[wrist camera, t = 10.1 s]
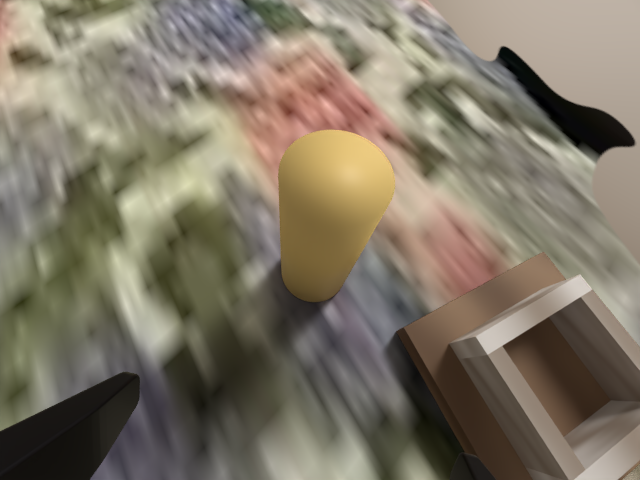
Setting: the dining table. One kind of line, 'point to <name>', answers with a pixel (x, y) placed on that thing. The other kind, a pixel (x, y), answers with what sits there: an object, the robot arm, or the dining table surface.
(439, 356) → the stand
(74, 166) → the dining table surface
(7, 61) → the dining table surface
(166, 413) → the dining table surface
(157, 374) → the dining table surface
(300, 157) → the post
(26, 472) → the robot arm
